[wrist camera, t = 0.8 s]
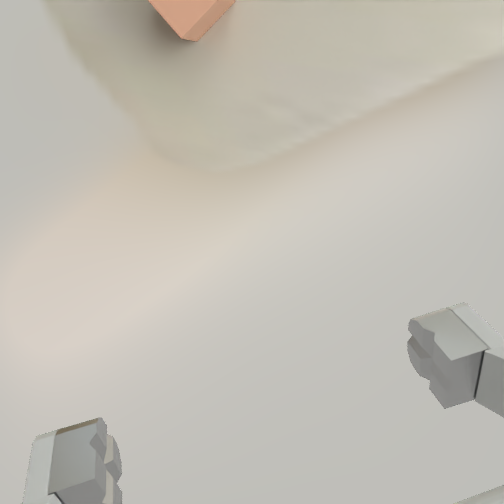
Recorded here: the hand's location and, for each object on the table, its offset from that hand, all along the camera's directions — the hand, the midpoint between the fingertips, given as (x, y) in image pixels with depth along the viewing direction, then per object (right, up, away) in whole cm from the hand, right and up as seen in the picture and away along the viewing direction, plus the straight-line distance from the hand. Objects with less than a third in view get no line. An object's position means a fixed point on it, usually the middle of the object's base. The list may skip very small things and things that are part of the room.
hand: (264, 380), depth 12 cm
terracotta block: (-5, +27, +30) cm, 40 cm away
